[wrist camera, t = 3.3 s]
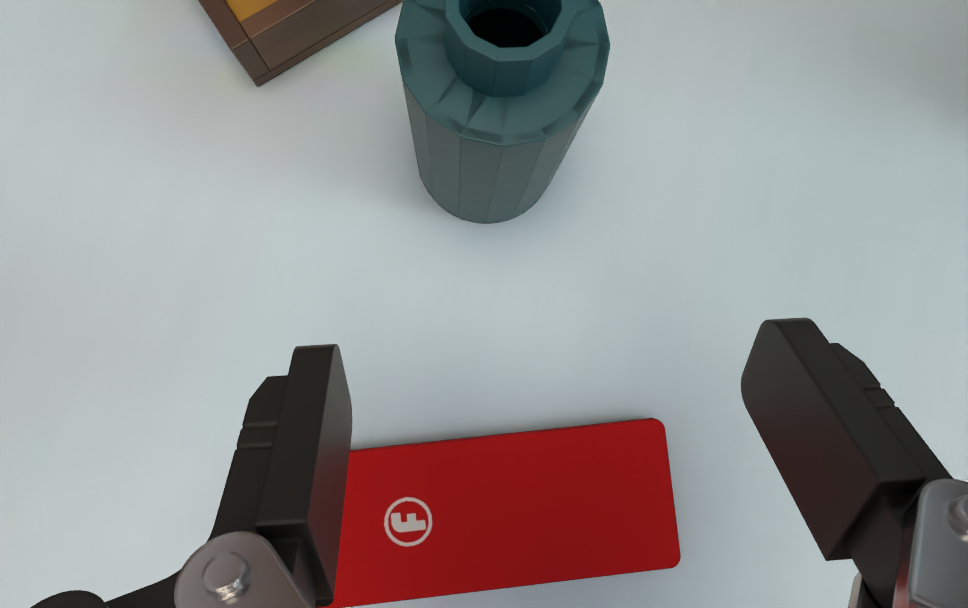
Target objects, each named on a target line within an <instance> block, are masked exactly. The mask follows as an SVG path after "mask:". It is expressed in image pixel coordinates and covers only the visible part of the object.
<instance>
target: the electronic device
mask: <svg viewBox="0 0 968 608" xmlns="http://www.w3.org/2000/svg"><path fill="white" fill-rule="evenodd" d="M679 561H680V548H679V540H678V532H677V524H676V515H675V507H674V499H673V491H672V483H671V475H670V467H669V458H668V450H667V442H666V434H665V427H664V425H663V424H662V422H660V421H659V420H657V419H654V418H648V419H638V420H629V421H620V422H610V423H601V424H591V425H582V426H573V427H563V428H554V429H545V430H535V431H526V432H516V433H507V434H498V435H488V436H479V437H470V438H460V439H451V440H441V441H432V442H423V443H413V444H404V445H395V446H385V447H376V448H366V449H357V450H350V453H349V462H348V472H347V481H346V490H345V499H344V508H343V518H342V527H341V536H340V545H339V555H338V564H337V573H336V582H335V591H334V598H332V599H319V600H316V601H315V608H344V607H352V606H361V605H369V604H377V603H385V602H394V601H402V600H410V599H418V598H427V597H435V596H443V595H452V594H460V593H468V592H476V591H485V590H493V589H501V588H510V587H518V586H526V585H534V584H543V583H551V582H559V581H567V580H576V579H584V578H592V577H601V576H609V575H617V574H625V573H634V572H642V571H650V570H659V569H667V568H673V567H675V566H676V565H677V564H678V563H679Z"/></svg>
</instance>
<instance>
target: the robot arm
mask: <svg viewBox="0 0 968 608" xmlns="http://www.w3.org/2000/svg"><path fill="white" fill-rule="evenodd" d="M741 393H742V398H743V401H744V404H745V407H746V409H747V411H748V413H749V414H750V416H751V418H752V420H753V422H754V424H755V426H756V428H757V430H758V432H759V434H760V436H761V437H762V439H763V441H764V443H765V445H766V447H767V449H768V451H769V453H770V455H771V457H772V459H773V460H774V462H775V464H776V466H777V468H778V470H779V472H780V474H781V476H782V478H783V480H784V482H785V483H786V485H787V487H788V489H789V491H790V493H791V495H792V497H793V499H794V501H795V503H796V505H797V506H798V508H799V510H800V512H801V514H802V516H803V518H804V520H805V522H806V524H807V526H808V528H809V529H810V531H811V533H812V535H813V537H814V539H815V541H816V543H817V545H818V547H819V549H820V551H821V552H822V554H823V556H824V558H825V560H826V561H830V560H843V559H853V561H854V563H855V565H856V567H857V568H858V570H859V572H858V573H857V575H856V576H855V578H854V581H853V585H852V590H851V595H850V600H849V605H848V608H968V482H964V481H960V480H955V479H953V478H952V476H951V475H950V474H949V473H948V471H947V470H946V469H945V468H944V466H943V465H942V464H941V462H940V461H939V460H938V458H937V457H936V456H935V455H934V453H933V452H932V451H931V449H930V448H929V447H928V445H927V444H926V443H925V441H924V440H923V439H922V438H921V436H920V435H919V434H918V432H917V431H916V430H915V428H914V427H913V426H912V425H911V423H910V422H909V421H908V419H907V418H906V417H905V415H904V414H903V413H902V411H901V410H900V409H899V408H898V407H895V406H894V401H893V400H892V398H891V397H890V396H889V395H888V393H887V392H886V391H885V389H881V387H880V383H879V381H878V380H877V379H876V378H875V376H874V375H873V374H872V372H871V371H870V370H869V368H868V367H867V366H866V365H865V363H864V362H863V361H862V360H860V359H859V358H858V357H856V356H855V355H854V354H852V353H851V352H849V351H848V350H847V349H845V348H844V347H843V346H841V345H840V344H839V343H829V342H828V340H827V339H826V338H825V336H824V335H823V334H822V332H821V331H820V330H819V328H818V327H817V325H816V324H815V323H814V322H813V321H812V320H811V319H809V318H789V319H772V320H766V321H764V322H763V323H762V324H761V326H760V328H759V331H758V333H757V336H756V339H755V341H754V344H753V347H752V349H751V352H750V355H749V358H748V360H747V363H746V366H745V368H744V371H743V374H742V378H741ZM242 425H243V429H241V431H240V435H239V438H238V442H237V450H235V453H234V456H233V460H232V463H231V467H230V470H229V474H228V477H227V481H226V485H225V488H224V492H223V495H222V499H221V502H220V506H219V509H218V513H217V517H216V520H215V524H214V527H213V530H212V532H211V535H210V537H209V539H208V541H207V542H206V543H205V544H204V545H203V546H201V547H200V548H199V549H198V550H196V551H195V552H194V553H193V554H192V555H191V556H190V558H189V559H188V560H187V561H186V563H185V564H184V566H183V567H182V569H181V570H179V571H178V572H176V573H175V574H173V575H171V576H170V577H168V578H166V579H164V580H161V581H159V582H157V583H154V584H152V585H149V586H146V587H144V588H141V589H139V590H136V591H133V592H131V593H128V594H125V595H123V596H120V597H118V598H115V599H112V600H110V601H107V602H104V601H103V600H102V599H101V598H100V597H99V596H97V595H96V594H94V593H91V592H88V591H81V590H74V591H67V592H62V593H59V594H56V595H53V596H50V597H48V598H46V599H44V600H42V601H40V602H39V603H37V604H35V605H34V606H32V607H31V608H315V601H316V600H319V599H332V598H334V591H335V582H336V573H337V564H338V555H339V545H340V536H341V527H342V518H343V508H344V499H345V490H346V481H347V472H348V462H349V453H350V444H351V435H352V406H351V398H350V394H349V389H348V385H347V380H346V376H345V371H344V366H343V362H342V357H341V353H340V349H339V346H338V345H337V344H328V345H311V346H297V347H295V349H294V352H293V355H292V360H291V364H290V368H289V373H288V375H287V376H270V377H267V378H266V379H265V380H264V382H263V383H262V384H261V385H260V387H259V388H258V389H257V390H256V392H255V393H254V394H253V395H252V397H251V398H250V399H249V403H248V406H247V410H246V413H245V417H244V421H243V424H242Z"/></svg>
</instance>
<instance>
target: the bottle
mask: <svg viewBox="0 0 968 608" xmlns="http://www.w3.org/2000/svg"><path fill="white" fill-rule="evenodd" d="M395 44H396V49H397V55H398V60H399V65H400V71H401V76H402V81H403V87H404V92H405V98H406V103H407V108H408V114H409V119H410V124H411V130H412V135H413V140H414V146H415V151H416V157H417V162H418V167H419V173H420V177H421V179H422V181H423V183H424V185H425V187H426V189H427V191H428V192H429V194H430V195H431V196H432V198H433V199H434V200H435V201H436V202H437V203H438V204H439V205H440V206H441V207H442V208H444V209H445V210H446V211H447V212H449V213H451V214H453V215H454V216H456V217H459V218H461V219H463V220H467V221H470V222H476V223H498V222H502V221H506V220H509V219H512V218H514V217H517V216H518V215H520V214H522V213H524V212H525V211H526V210H528V209H529V208H530V207H532V206H533V205H534V204H535V203H536V202H537V201H538V199H539V198H540V197H541V195H542V194H543V192H544V191H545V189H546V187H547V186H548V185H549V183H550V182H551V180H552V178H553V176H554V174H555V172H556V171H557V169H558V167H559V165H560V163H561V161H562V159H563V157H564V156H565V154H566V152H567V150H568V148H569V146H570V144H571V143H572V141H573V139H574V137H575V135H576V133H577V131H578V129H579V128H580V126H581V124H582V122H583V120H584V118H585V116H586V115H587V113H588V111H589V109H590V107H591V105H592V103H593V101H594V100H595V98H596V96H597V94H598V92H599V90H600V88H601V87H602V84H603V81H604V76H605V70H606V65H607V60H608V55H609V50H610V41H609V37H608V32H607V28H606V23H605V18H604V14H603V9H602V6H601V4H600V2H599V1H598V0H403V4H402V9H401V13H400V17H399V21H398V26H397V30H396V34H395Z"/></svg>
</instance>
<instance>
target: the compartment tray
mask: <svg viewBox="0 0 968 608" xmlns="http://www.w3.org/2000/svg"><path fill="white" fill-rule="evenodd" d="M198 1H199V2H200V4H201V5H202V7H203V8H204V10H205V11H206V13H207V14H208V16H209V17H210V19H211V21H212V22H213V24H214V25H215V27H216V28H217V30H218V31H219V33H220V34H221V36H222V37H223V39H224V40H225V42H226V44H227V45H228V47H229V48H230V50H231V51H232V53H233V54H234V55H235V57H236V58H237V59H238V61H239V62H240V64H241V65H242V66H243V68H244V69H245V71H246V72H247V73H248V75H249V76H250V78H251V79H252V80H253V82H254V83H255V84H256V86H259V85H261V84H263V83H265V82H266V81H268V80H270V79H271V78H273V77H275V76H276V75H278V74H280V73H281V72H283V71H285V70H287V69H288V68H290V67H292V66H293V65H295V64H297V63H298V62H300V61H302V60H303V59H305V58H307V57H308V56H310V55H312V54H314V53H315V52H317V51H319V50H320V49H322V48H324V47H325V46H327V45H329V44H330V43H332V42H334V41H336V40H337V39H339V38H341V37H342V36H344V35H346V34H347V33H349V32H351V31H352V30H354V29H356V28H357V27H359V26H361V25H363V24H364V23H366V22H368V21H369V20H371V19H373V18H374V17H376V16H378V15H379V14H381V13H383V12H385V11H386V10H388V9H390V8H391V7H393V6H395V5H396V4H398V3H400V2H401V1H403V0H198Z"/></svg>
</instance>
